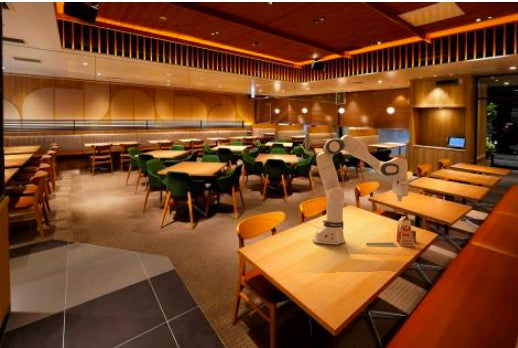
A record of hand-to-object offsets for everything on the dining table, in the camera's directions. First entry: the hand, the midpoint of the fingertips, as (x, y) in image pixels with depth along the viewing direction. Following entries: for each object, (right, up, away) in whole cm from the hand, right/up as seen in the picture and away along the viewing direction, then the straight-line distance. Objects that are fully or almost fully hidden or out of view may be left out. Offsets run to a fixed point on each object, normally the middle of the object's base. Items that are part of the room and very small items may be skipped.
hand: (399, 201), depth 193 cm
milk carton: (+4, -30, +1) cm, 30 cm away
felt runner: (-12, -30, +2) cm, 32 cm away
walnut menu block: (+12, -29, +6) cm, 32 cm away
